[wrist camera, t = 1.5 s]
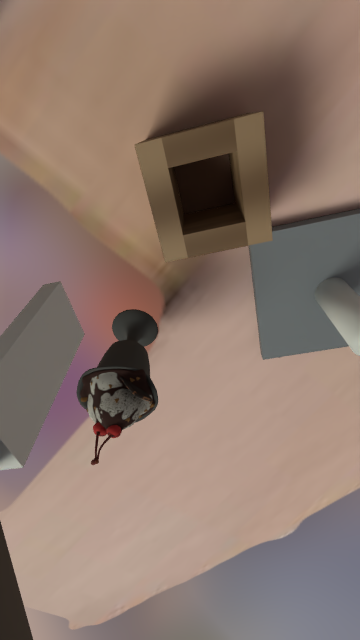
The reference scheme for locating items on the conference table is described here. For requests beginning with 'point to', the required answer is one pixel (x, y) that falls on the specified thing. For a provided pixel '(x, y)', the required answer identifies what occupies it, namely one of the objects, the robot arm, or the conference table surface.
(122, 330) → the sundae
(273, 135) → the conference table surface
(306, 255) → the post stand
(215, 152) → the collar
